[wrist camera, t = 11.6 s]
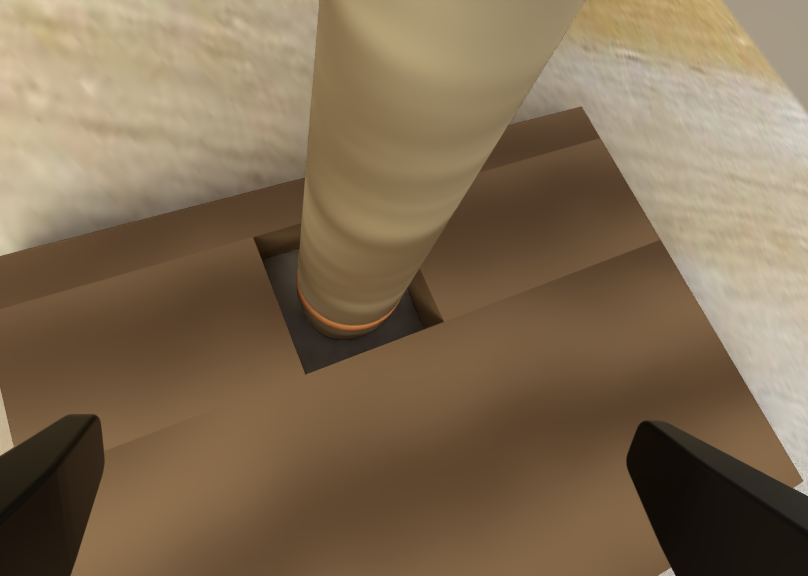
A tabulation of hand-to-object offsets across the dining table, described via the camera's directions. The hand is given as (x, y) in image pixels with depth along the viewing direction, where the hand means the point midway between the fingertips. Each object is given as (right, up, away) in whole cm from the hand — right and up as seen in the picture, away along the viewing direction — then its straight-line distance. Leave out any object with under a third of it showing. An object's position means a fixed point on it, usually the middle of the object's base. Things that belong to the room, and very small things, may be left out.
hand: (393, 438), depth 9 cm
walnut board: (0, -1, +10) cm, 10 cm away
